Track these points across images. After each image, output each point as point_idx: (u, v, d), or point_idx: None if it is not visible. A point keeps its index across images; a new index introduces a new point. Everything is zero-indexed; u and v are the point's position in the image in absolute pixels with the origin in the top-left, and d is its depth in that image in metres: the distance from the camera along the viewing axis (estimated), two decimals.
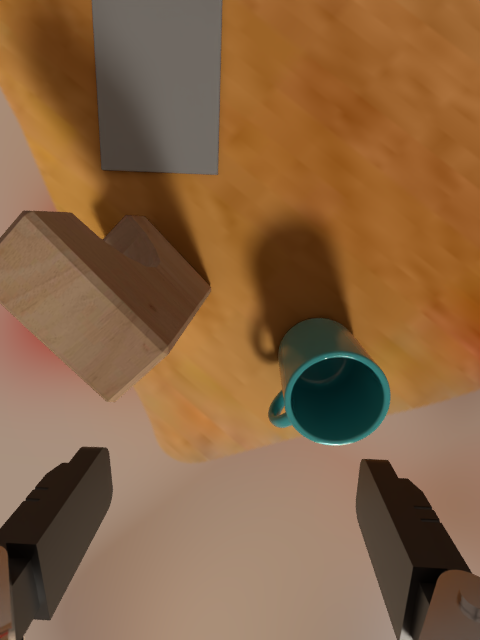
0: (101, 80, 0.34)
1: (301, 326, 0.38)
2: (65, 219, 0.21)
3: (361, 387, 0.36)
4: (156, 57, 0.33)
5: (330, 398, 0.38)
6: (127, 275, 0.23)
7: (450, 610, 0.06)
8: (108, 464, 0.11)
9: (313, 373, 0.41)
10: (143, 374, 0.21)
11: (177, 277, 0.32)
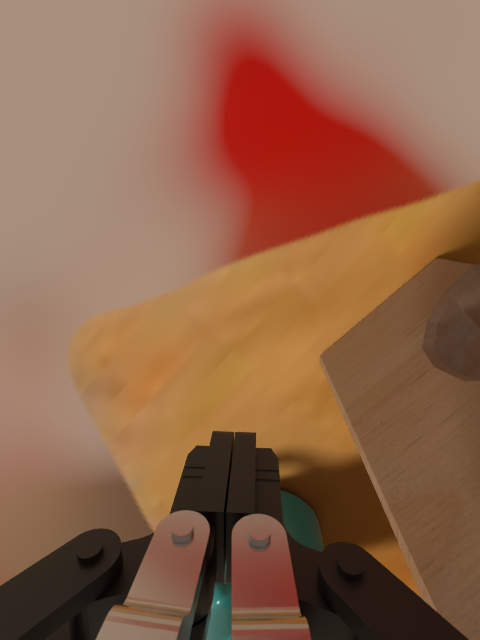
0: None
1: (318, 531, 0.28)
2: None
3: None
4: None
5: None
6: None
7: (246, 555, 0.07)
8: (233, 448, 0.12)
9: None
10: None
11: None
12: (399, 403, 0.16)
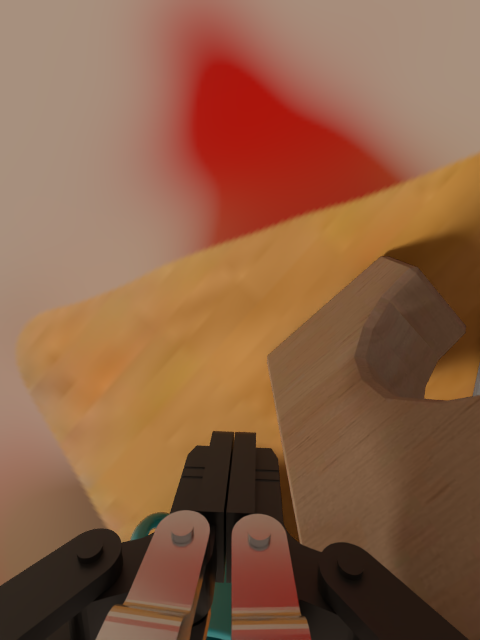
0: None
1: None
2: None
3: None
4: None
5: None
6: None
7: (246, 555, 0.07)
8: (233, 448, 0.12)
9: None
10: None
11: None
12: (326, 416, 0.15)
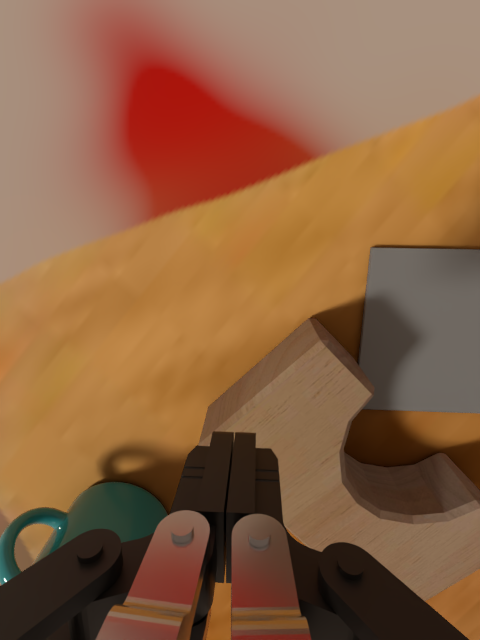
0: None
1: (156, 524, 0.28)
2: None
3: None
4: None
5: None
6: None
7: (246, 555, 0.07)
8: (233, 448, 0.12)
9: None
10: None
11: None
12: (336, 526, 0.24)
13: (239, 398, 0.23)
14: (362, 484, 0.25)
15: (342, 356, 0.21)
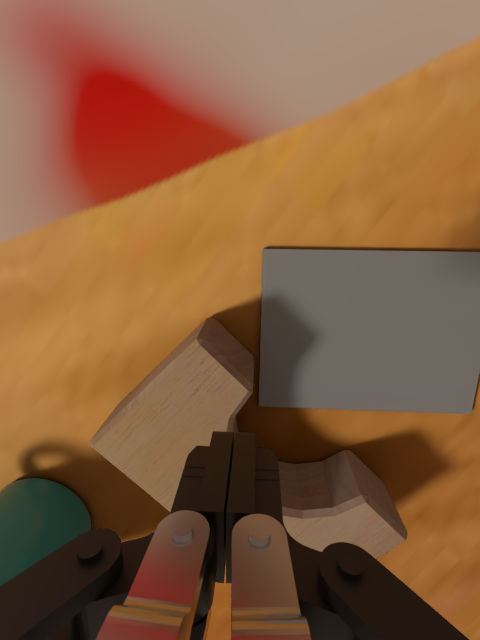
0: (381, 258, 0.24)
1: (70, 519, 0.29)
2: None
3: None
4: (401, 335, 0.25)
5: None
6: None
7: (246, 555, 0.07)
8: (233, 448, 0.12)
9: None
10: None
11: None
12: None
13: (133, 395, 0.24)
14: None
15: (218, 354, 0.21)
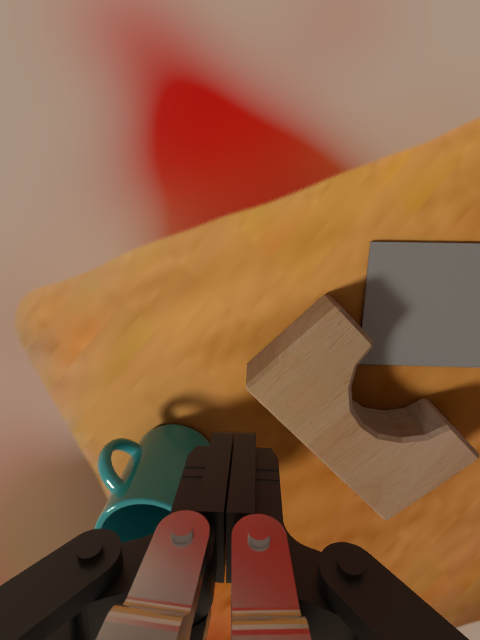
0: (460, 248, 0.32)
1: None
2: None
3: (153, 525, 0.35)
4: (472, 307, 0.33)
5: None
6: None
7: (246, 555, 0.07)
8: (233, 448, 0.12)
9: None
10: None
11: None
12: (346, 445, 0.32)
13: (274, 352, 0.32)
14: (364, 418, 0.34)
15: (350, 318, 0.29)
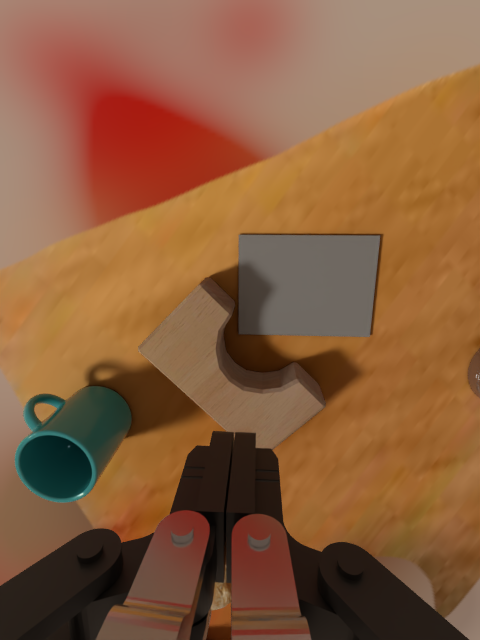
0: (308, 239, 0.40)
1: (120, 408, 0.45)
2: None
3: (74, 464, 0.44)
4: (323, 287, 0.42)
5: (61, 436, 0.45)
6: None
7: (246, 555, 0.07)
8: (233, 448, 0.12)
9: None
10: None
11: None
12: (219, 396, 0.41)
13: None
14: (238, 376, 0.42)
15: (212, 293, 0.38)
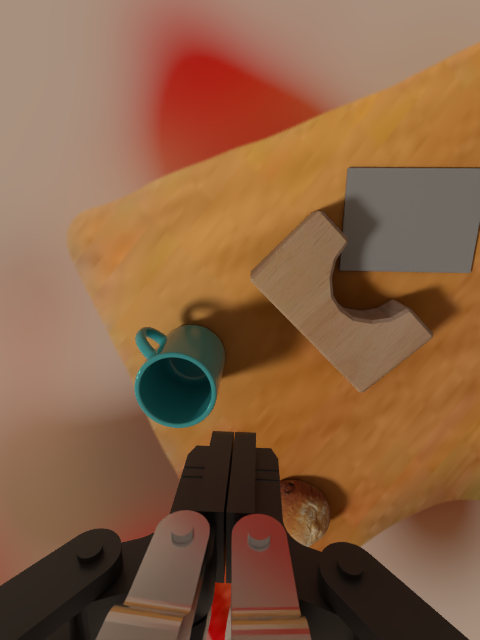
0: (418, 172, 0.41)
1: (219, 345, 0.46)
2: None
3: (176, 398, 0.45)
4: (428, 221, 0.42)
5: (160, 373, 0.46)
6: None
7: (246, 555, 0.07)
8: (233, 448, 0.12)
9: None
10: None
11: None
12: (328, 327, 0.41)
13: (272, 253, 0.41)
14: (343, 309, 0.43)
15: (330, 220, 0.38)
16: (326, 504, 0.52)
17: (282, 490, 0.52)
